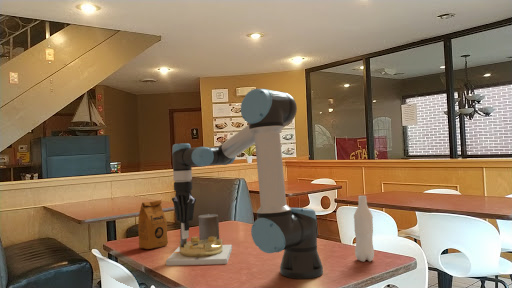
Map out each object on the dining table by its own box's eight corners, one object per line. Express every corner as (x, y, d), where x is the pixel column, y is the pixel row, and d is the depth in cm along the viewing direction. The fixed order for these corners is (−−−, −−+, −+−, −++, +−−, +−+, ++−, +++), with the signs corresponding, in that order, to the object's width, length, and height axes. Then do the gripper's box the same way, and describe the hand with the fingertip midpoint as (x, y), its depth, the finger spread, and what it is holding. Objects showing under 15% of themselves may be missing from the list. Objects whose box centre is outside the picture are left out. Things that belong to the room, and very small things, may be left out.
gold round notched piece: (187, 259, 157) (186, 233, 157) (174, 250, 173) (173, 226, 173) (229, 252, 165) (228, 228, 166) (213, 244, 181) (212, 222, 182)
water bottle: (351, 259, 158) (349, 195, 158) (367, 256, 160) (364, 194, 161) (362, 263, 151) (360, 197, 152) (378, 261, 154) (375, 196, 154)
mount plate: (226, 263, 157) (226, 258, 157) (166, 265, 157) (166, 259, 158) (232, 249, 181) (231, 244, 181) (179, 250, 181) (179, 245, 181)
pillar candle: (222, 241, 196) (221, 211, 197) (215, 246, 187) (213, 214, 188) (204, 241, 199) (202, 211, 200) (196, 246, 190) (194, 214, 190)
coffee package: (170, 246, 191) (169, 200, 191) (147, 251, 182) (146, 203, 182) (159, 243, 198) (157, 199, 198) (136, 248, 189) (135, 201, 189)
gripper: (200, 180, 164) (202, 238, 163) (180, 180, 172) (182, 235, 171) (185, 181, 158) (188, 241, 157) (165, 181, 166) (168, 238, 165)
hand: (185, 238), depth 164 cm, fingers closed
